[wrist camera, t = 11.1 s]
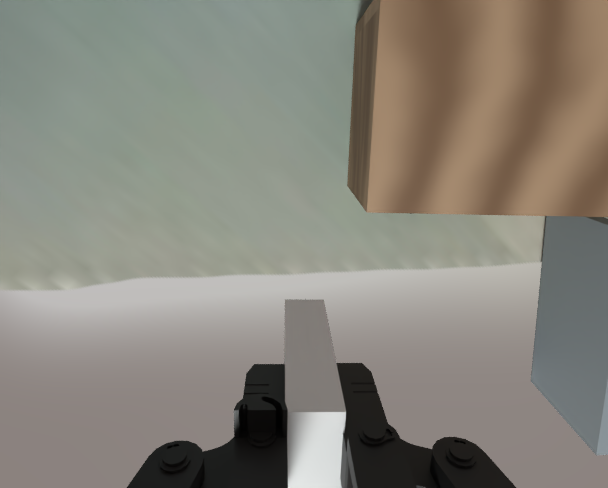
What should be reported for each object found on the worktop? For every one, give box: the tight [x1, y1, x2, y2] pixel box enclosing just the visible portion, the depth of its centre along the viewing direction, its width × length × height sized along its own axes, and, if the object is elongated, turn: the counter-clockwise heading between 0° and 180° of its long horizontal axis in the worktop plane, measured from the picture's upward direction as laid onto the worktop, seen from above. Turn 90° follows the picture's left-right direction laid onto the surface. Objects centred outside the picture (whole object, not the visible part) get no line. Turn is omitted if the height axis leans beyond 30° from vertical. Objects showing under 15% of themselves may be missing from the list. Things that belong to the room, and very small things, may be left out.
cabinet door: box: [531, 216, 608, 455], centre depth 40 cm, size 20×3×11 cm, turn 3°
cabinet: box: [347, 0, 608, 217], centre depth 35 cm, size 20×14×12 cm
